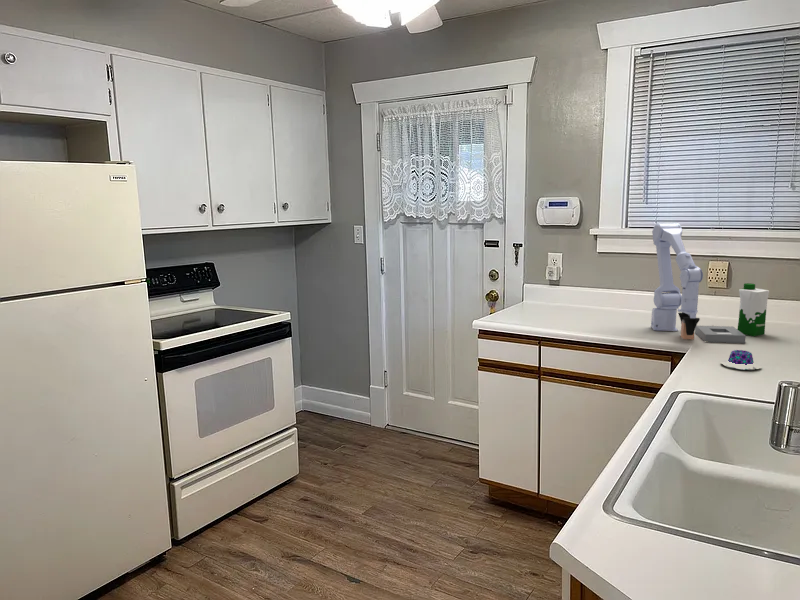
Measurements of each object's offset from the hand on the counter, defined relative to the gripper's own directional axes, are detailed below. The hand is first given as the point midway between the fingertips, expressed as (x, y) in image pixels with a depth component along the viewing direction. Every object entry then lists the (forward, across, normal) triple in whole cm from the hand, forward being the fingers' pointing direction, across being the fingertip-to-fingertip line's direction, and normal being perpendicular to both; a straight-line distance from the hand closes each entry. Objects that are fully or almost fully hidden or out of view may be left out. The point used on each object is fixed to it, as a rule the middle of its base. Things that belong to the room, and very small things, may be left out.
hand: (687, 332), depth 239 cm
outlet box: (+2, -2, +12) cm, 12 cm away
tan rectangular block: (+2, 0, 0) cm, 2 cm away
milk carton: (+2, -11, +26) cm, 28 cm away
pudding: (+3, +39, +8) cm, 40 cm away
